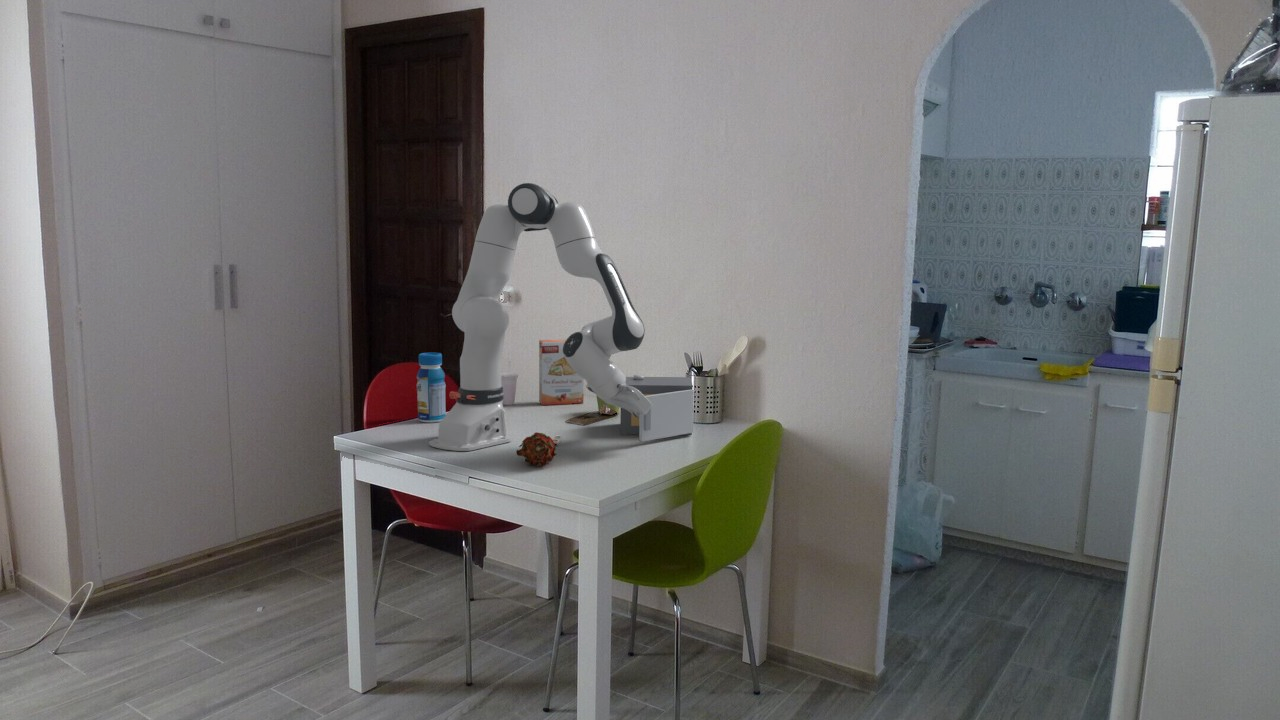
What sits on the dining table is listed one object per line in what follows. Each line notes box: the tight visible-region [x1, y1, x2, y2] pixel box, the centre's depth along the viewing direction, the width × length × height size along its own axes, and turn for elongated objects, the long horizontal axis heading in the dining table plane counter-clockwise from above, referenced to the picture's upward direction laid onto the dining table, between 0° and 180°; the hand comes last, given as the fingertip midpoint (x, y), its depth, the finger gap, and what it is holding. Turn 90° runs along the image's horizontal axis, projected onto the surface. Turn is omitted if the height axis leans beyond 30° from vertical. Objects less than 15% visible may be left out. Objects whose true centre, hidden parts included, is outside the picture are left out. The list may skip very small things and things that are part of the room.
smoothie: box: [501, 360, 519, 406], centre depth 300 cm, size 6×6×14 cm
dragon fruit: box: [515, 432, 557, 467], centre depth 226 cm, size 8×8×12 cm
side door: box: [638, 389, 695, 443], centre depth 251 cm, size 2×18×12 cm, turn 128°
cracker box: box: [538, 338, 585, 406], centre depth 301 cm, size 14×6×21 cm, turn 105°
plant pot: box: [595, 394, 620, 415], centre depth 286 cm, size 9×9×9 cm
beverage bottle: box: [415, 352, 447, 424], centre depth 274 cm, size 8×8×20 cm
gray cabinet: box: [620, 374, 694, 436], centre depth 264 cm, size 14×20×15 cm
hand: (639, 415), depth 249 cm, fingers closed
